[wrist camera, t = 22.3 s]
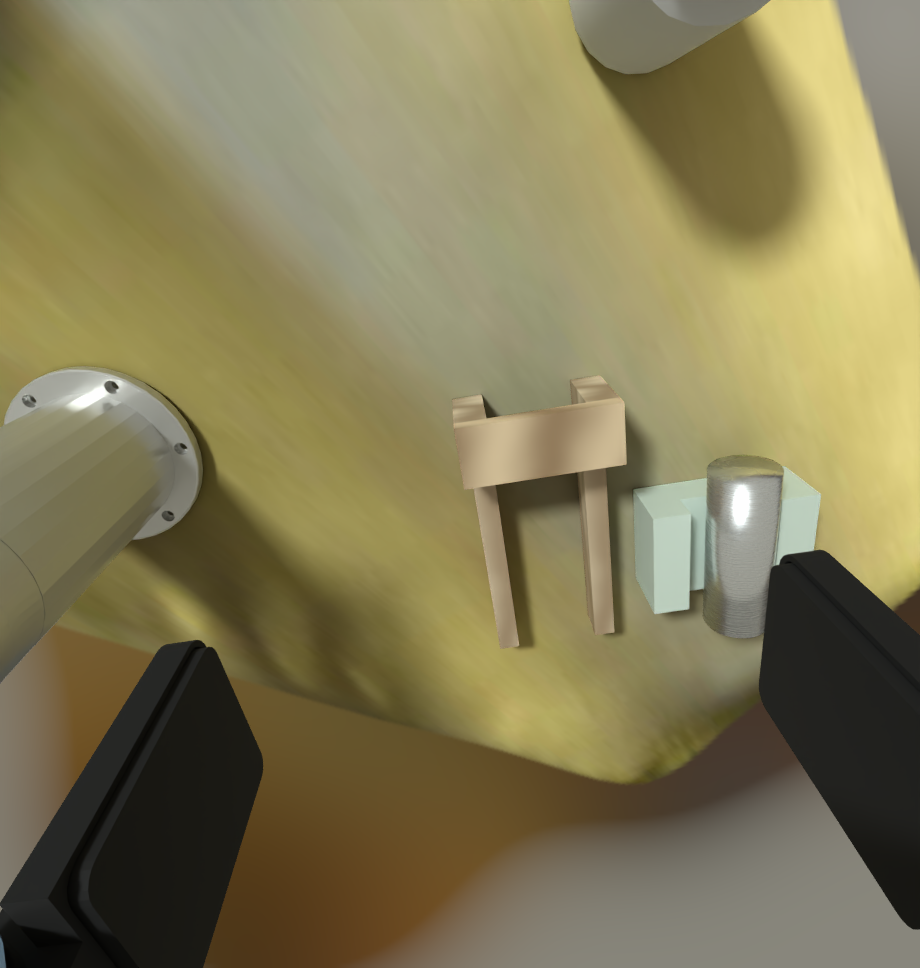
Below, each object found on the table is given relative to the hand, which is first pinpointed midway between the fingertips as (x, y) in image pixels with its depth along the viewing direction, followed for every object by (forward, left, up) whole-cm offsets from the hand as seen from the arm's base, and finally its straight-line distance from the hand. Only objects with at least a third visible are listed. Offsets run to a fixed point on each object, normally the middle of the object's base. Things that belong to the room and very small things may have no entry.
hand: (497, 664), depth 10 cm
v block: (+16, -18, -30) cm, 39 cm away
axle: (+16, -17, -28) cm, 36 cm away
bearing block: (+4, -15, -30) cm, 34 cm away
